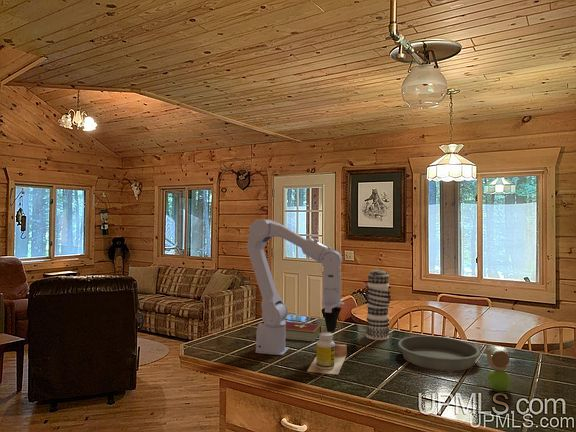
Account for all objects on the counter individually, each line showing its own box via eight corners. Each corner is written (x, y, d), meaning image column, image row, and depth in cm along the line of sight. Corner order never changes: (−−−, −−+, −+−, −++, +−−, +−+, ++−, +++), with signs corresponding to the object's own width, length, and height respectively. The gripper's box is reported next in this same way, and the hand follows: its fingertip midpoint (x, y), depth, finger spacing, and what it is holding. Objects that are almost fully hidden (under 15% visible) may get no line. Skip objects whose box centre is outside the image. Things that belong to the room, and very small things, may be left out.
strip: (306, 371, 125) (307, 360, 125) (319, 351, 144) (319, 342, 144) (338, 375, 123) (338, 363, 123) (346, 354, 142) (346, 344, 142)
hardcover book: (269, 330, 174) (269, 319, 174) (320, 334, 168) (321, 323, 168) (259, 337, 162) (259, 326, 162) (314, 342, 156) (314, 331, 156)
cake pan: (383, 359, 138) (383, 345, 138) (419, 344, 156) (419, 331, 156) (461, 379, 121) (461, 363, 121) (491, 360, 139) (491, 346, 139)
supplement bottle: (333, 370, 125) (334, 336, 125) (315, 369, 126) (315, 335, 126) (335, 364, 131) (335, 332, 131) (317, 363, 132) (317, 331, 132)
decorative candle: (371, 332, 170) (372, 268, 171) (393, 336, 165) (394, 270, 165) (360, 337, 163) (361, 270, 163) (384, 341, 157) (384, 272, 158)
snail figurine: (480, 387, 115) (480, 341, 115) (503, 386, 116) (503, 341, 116) (491, 395, 110) (491, 347, 110) (515, 394, 110) (515, 347, 111)
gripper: (341, 292, 131) (340, 337, 131) (347, 285, 145) (346, 326, 145) (318, 291, 133) (317, 335, 132) (326, 284, 147) (325, 324, 147)
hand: (331, 330), depth 139 cm, fingers closed
